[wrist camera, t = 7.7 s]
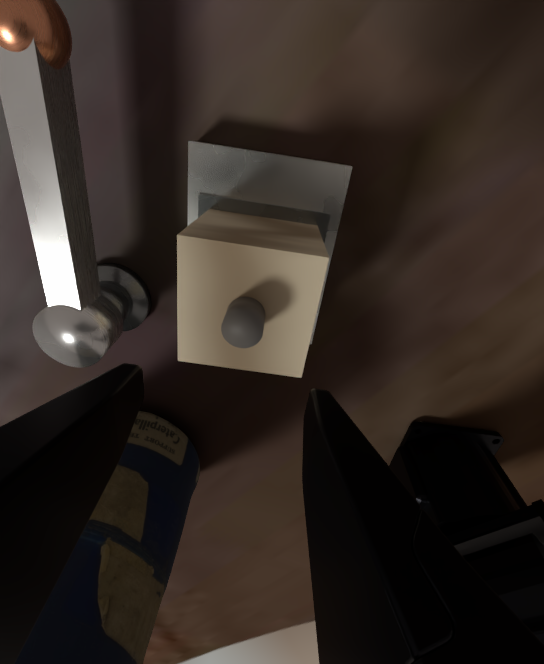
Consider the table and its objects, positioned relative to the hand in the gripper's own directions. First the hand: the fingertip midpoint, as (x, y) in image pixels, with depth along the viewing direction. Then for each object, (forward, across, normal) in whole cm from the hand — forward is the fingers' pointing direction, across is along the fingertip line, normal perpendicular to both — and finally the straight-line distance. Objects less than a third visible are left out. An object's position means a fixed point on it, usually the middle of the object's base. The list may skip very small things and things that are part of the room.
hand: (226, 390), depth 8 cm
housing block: (+9, 0, 0) cm, 9 cm away
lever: (+8, +8, -2) cm, 12 cm away
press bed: (+11, 0, 0) cm, 11 cm away
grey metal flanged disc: (+11, +8, +4) cm, 14 cm away
